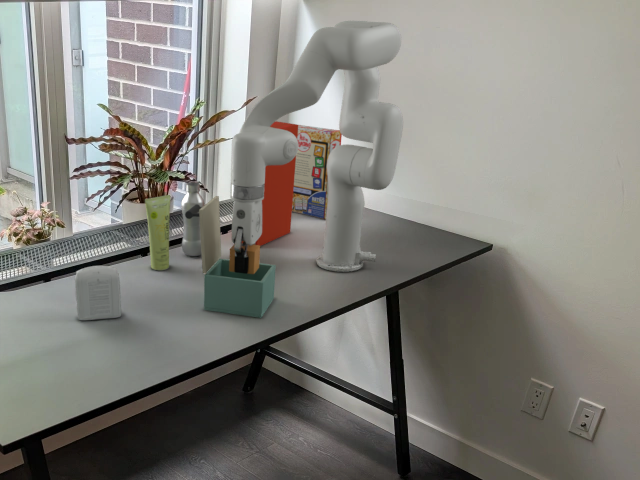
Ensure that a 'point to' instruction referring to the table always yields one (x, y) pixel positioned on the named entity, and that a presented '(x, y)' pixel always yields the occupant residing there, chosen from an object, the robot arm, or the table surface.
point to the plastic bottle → (191, 221)
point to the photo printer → (98, 293)
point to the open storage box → (239, 290)
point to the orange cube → (252, 254)
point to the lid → (208, 231)
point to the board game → (313, 169)
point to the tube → (158, 231)
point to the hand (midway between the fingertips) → (244, 267)
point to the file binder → (278, 195)
